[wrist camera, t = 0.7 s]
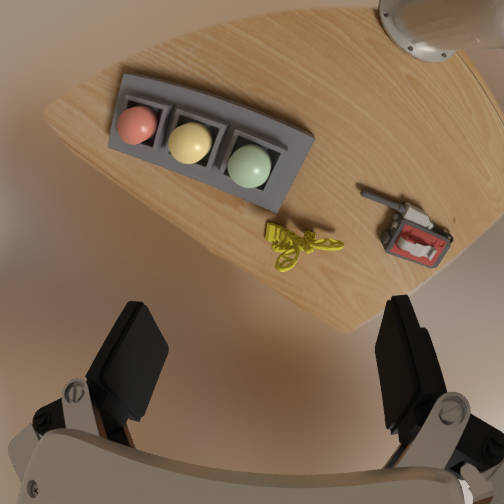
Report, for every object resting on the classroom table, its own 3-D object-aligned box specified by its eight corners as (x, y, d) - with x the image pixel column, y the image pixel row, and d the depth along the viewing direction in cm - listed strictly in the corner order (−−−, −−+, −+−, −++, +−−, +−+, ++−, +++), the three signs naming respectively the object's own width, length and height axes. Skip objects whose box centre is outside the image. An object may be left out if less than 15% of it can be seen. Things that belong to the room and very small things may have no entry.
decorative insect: (304, 211, 47) (347, 241, 40) (301, 227, 49) (341, 258, 42) (239, 227, 41) (281, 266, 34) (238, 246, 43) (277, 286, 36)
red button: (131, 101, 30) (121, 104, 28) (162, 110, 31) (153, 113, 29) (124, 134, 33) (114, 139, 31) (153, 144, 34) (144, 149, 32)
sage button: (240, 137, 32) (236, 141, 30) (277, 153, 32) (276, 158, 30) (226, 171, 35) (222, 178, 33) (262, 186, 35) (260, 194, 33)
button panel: (134, 72, 32) (115, 74, 28) (313, 134, 34) (316, 142, 30) (117, 142, 39) (100, 151, 34) (278, 204, 41) (275, 220, 37)
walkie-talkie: (456, 224, 38) (361, 182, 37) (466, 238, 34) (368, 193, 34) (432, 263, 43) (340, 230, 43) (440, 278, 39) (343, 245, 39)
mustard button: (182, 116, 31) (174, 119, 29) (218, 129, 32) (212, 132, 30) (172, 151, 34) (164, 156, 32) (205, 163, 35) (199, 169, 32)
